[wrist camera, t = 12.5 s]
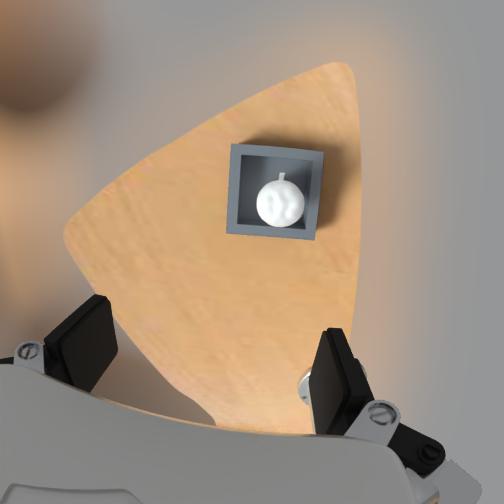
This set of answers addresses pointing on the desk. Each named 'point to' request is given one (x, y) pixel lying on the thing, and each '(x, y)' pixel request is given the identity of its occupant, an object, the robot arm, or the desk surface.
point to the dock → (263, 172)
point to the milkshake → (280, 202)
